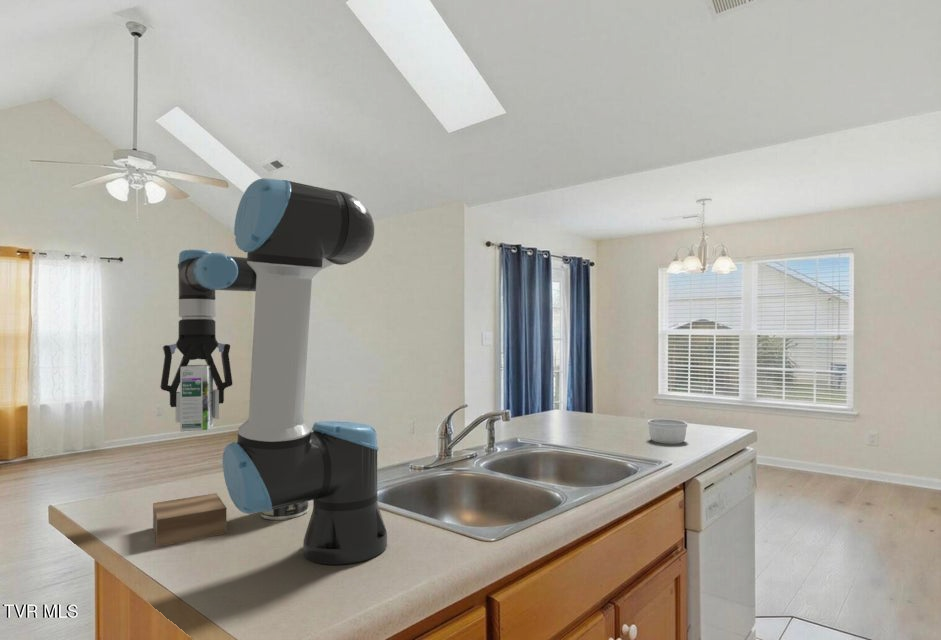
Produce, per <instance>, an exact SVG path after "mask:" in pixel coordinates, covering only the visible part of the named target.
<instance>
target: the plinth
mask: <svg viewBox="0 0 941 640" xmlns="http://www.w3.org/2000/svg"><path fill="white" fill-rule="evenodd" d="M152 504H153V505H152V509H153V510H152V514H153V515H152V528H153V532H154V538H155V542H156V546H157V547H162V546H167V545H172V544H179V543H182V542H187V541H192V540H198V539H202V538H206V537H207V538H208V537H212V536H213V537H214V536H217V535H222V534H223V535H224V534H226V533H227V507H226V505H225V504H224V502H223V501H222V499H221V498H220V496H219V494H218V492H215V493H208V494H203V495H196V496H191V497H184V498H177V499H172V500H165V501H164V500H163V501H158V502H153V503H152Z"/></svg>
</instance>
